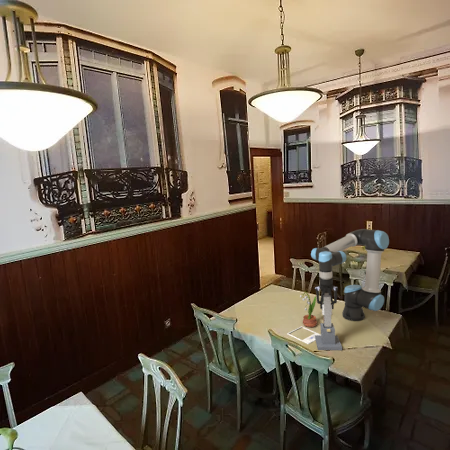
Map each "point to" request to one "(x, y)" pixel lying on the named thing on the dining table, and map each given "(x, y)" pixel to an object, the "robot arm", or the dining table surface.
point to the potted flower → (309, 319)
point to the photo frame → (308, 339)
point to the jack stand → (328, 339)
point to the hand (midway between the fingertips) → (327, 313)
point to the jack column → (327, 310)
